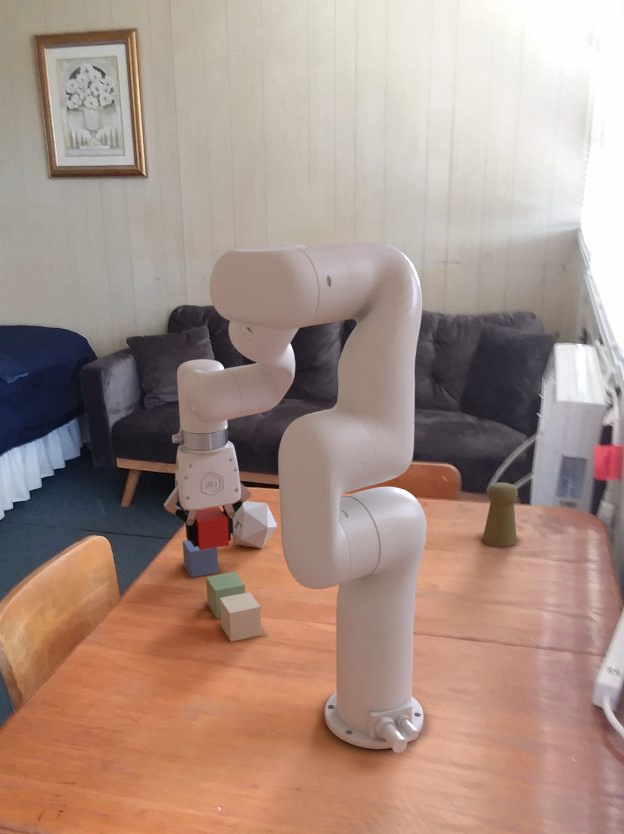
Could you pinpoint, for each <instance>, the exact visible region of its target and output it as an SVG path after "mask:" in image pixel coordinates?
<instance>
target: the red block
mask: <svg viewBox="0 0 624 834" xmlns="http://www.w3.org/2000/svg"><path fill="white" fill-rule="evenodd" d="M194 520H195V523H196V525H197V533H198V548H199V549H200V550H204V549H210V548H215V547H217V548H220V547H226V546H229V545H230V541H229V538H228V518H227V516H226V515H225V514H224V513H223V509H221V508H220V506H219V507H213V508H207V509H201V510H197V511H196V515H195V519H194Z"/></svg>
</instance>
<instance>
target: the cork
mask: <svg viewBox="0 0 624 834" xmlns="http://www.w3.org/2000/svg"><path fill="white" fill-rule="evenodd" d="M487 496H488V500H489V501H490V503H489V507H488V513H487V517H486V521H485V527H484V530H483V536H482V540H483V542H484V543H485V544H488V545H489V546H493V547H499V548H500V547H501V548H506V547H512V546H514V545H516V543H518V542H517V526H516V511H515V503H516V502H517V500H518V497H519V492H518V489H517V487H516V486H515V485H513V484H511V483H508V482H495V483H493V484H491V485H490V487H489V488H488V491H487Z"/></svg>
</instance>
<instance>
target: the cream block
mask: <svg viewBox="0 0 624 834" xmlns="http://www.w3.org/2000/svg"><path fill="white" fill-rule="evenodd" d="M261 608H262V607H261V605H260V604H259V602H258V601H257V600H256V598H255V597H254V595H253V594H252V593H251V592H250V591H249V592H245V593H243V594H238V595H233V596H228V597H223V598H220V613H221V617H220V626H221V628H222V630H223V631H224V633H225V634H226V636H227V638H228V639H229V641H230V642H231V643H232V642H237V641H241V640H245V639H250V638H254V637H260V636H262V631H263V630H262V609H261Z"/></svg>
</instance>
